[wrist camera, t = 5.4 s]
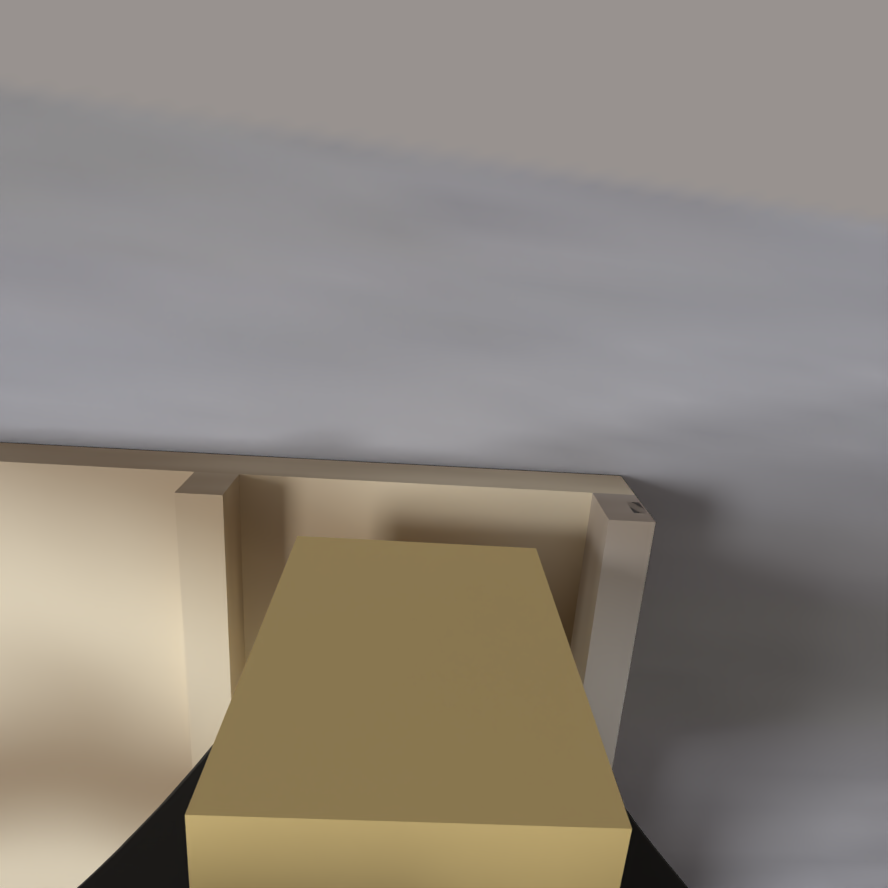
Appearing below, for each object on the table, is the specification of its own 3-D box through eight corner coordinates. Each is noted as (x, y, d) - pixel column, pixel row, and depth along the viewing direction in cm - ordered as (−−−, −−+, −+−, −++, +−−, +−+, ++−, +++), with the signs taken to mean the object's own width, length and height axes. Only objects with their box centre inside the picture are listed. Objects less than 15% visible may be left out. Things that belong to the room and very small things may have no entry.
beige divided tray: (535, 1021, 18) (549, 1123, 16) (-141, 1005, 18) (-218, 1109, 16) (620, 475, 13) (655, 522, 11) (-315, 425, 13) (-462, 464, 11)
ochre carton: (292, 535, 11) (174, 813, 6) (535, 548, 11) (632, 829, 6) (291, 854, 13) (205, 1263, 8) (496, 859, 13) (541, 1262, 8)
